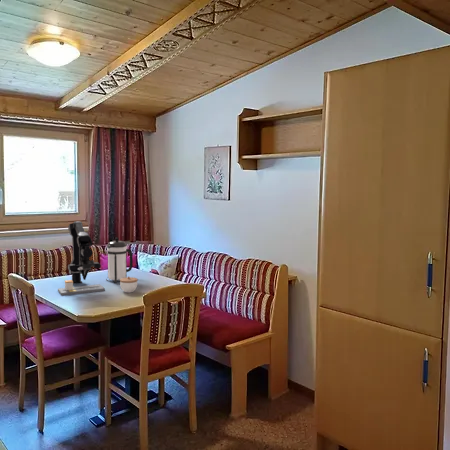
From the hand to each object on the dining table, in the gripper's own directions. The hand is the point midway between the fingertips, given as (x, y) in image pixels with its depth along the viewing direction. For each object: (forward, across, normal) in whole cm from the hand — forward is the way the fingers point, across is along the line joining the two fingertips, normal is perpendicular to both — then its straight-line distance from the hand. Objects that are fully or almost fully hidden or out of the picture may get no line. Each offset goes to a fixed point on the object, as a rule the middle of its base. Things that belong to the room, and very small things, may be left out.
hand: (84, 279), depth 285 cm
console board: (+7, -2, 0) cm, 7 cm away
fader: (+5, -9, 0) cm, 11 cm away
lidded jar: (+7, +24, -14) cm, 29 cm away
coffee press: (+7, +27, +18) cm, 33 cm away
